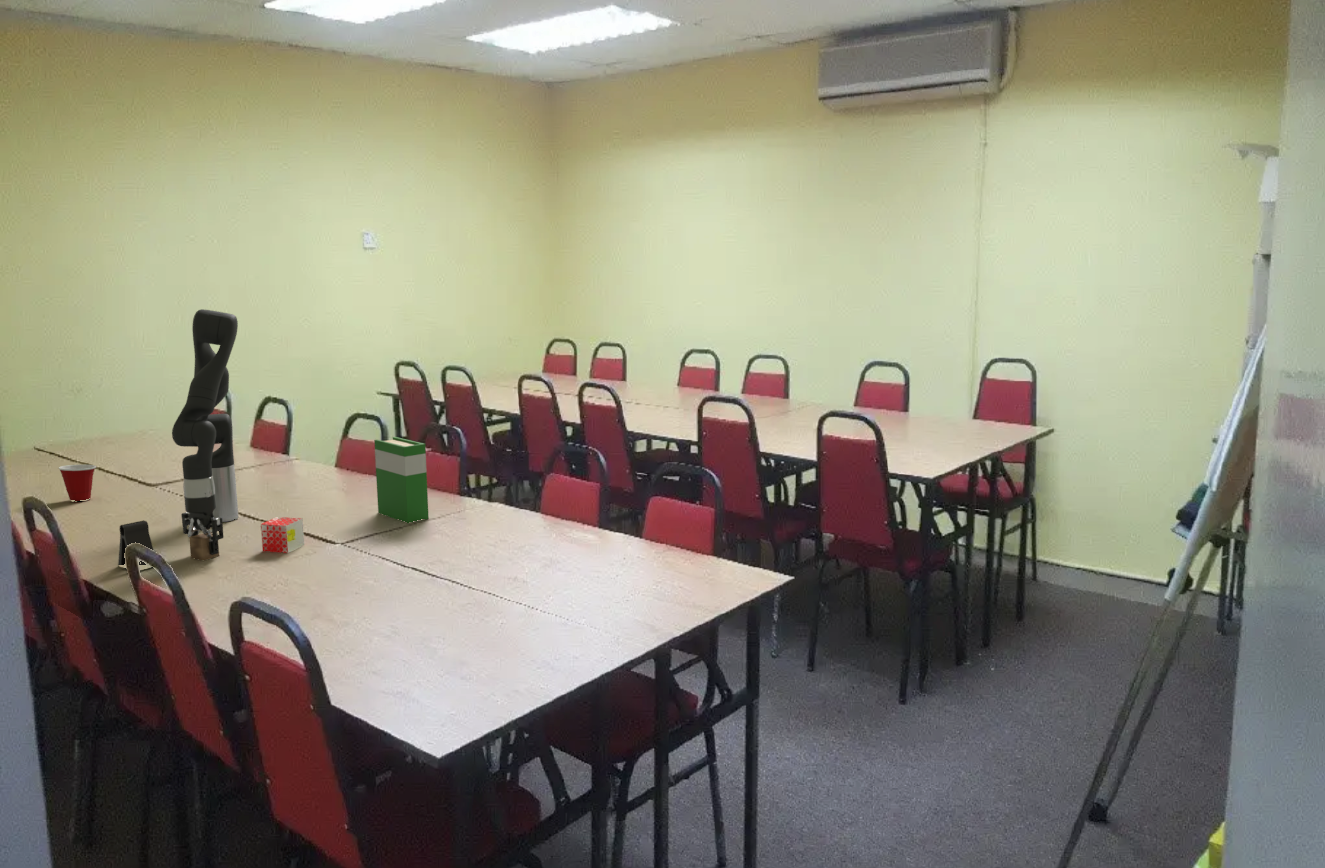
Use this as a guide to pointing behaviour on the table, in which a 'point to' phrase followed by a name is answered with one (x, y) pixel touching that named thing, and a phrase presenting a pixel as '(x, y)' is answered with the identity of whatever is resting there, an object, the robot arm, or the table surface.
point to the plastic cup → (78, 480)
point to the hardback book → (401, 479)
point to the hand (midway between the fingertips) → (204, 552)
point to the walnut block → (200, 547)
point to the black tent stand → (133, 537)
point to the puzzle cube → (282, 534)
